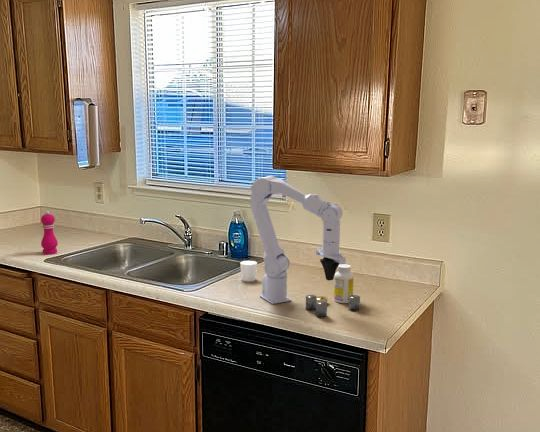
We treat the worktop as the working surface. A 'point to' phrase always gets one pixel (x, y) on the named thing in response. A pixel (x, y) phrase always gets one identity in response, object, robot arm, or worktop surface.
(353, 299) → the grey metal cylinder
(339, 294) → the supplement bottle
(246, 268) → the white cylinder
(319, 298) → the nut
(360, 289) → the worktop surface
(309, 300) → the spacer near
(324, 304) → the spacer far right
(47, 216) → the pepper mill
